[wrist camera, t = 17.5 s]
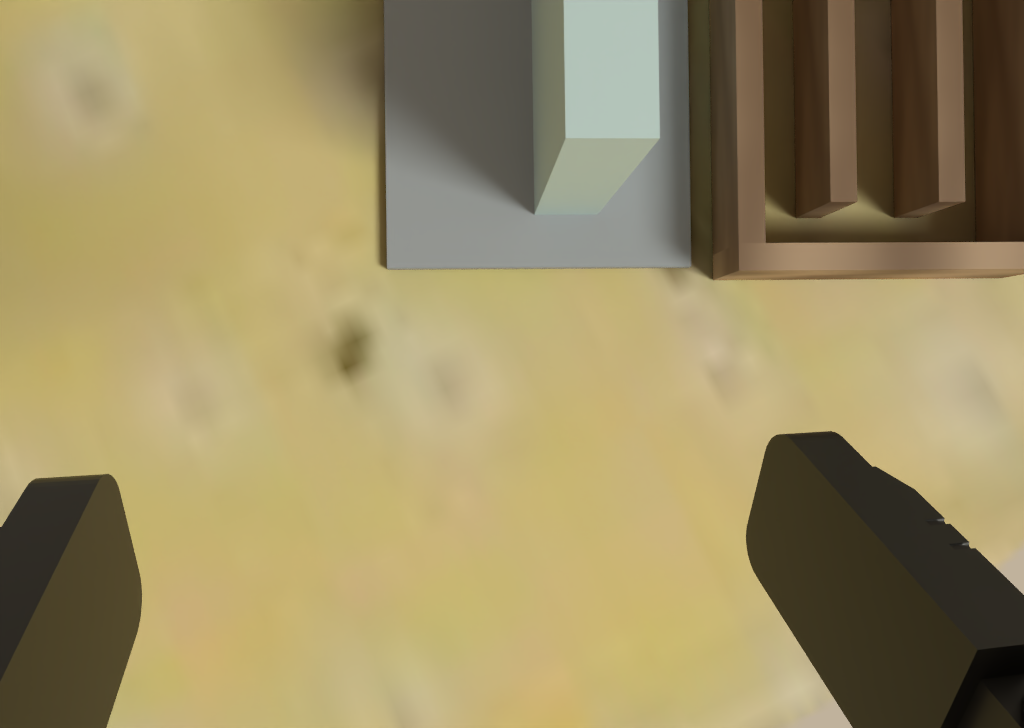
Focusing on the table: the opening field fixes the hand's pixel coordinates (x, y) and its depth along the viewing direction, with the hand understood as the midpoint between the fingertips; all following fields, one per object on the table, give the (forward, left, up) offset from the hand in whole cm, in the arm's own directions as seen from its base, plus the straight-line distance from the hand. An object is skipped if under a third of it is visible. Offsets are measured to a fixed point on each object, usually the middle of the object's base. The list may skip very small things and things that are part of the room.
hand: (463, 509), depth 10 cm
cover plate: (+4, +15, -20) cm, 25 cm away
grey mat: (+3, +15, -21) cm, 26 cm away
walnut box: (+16, +15, -21) cm, 30 cm away
